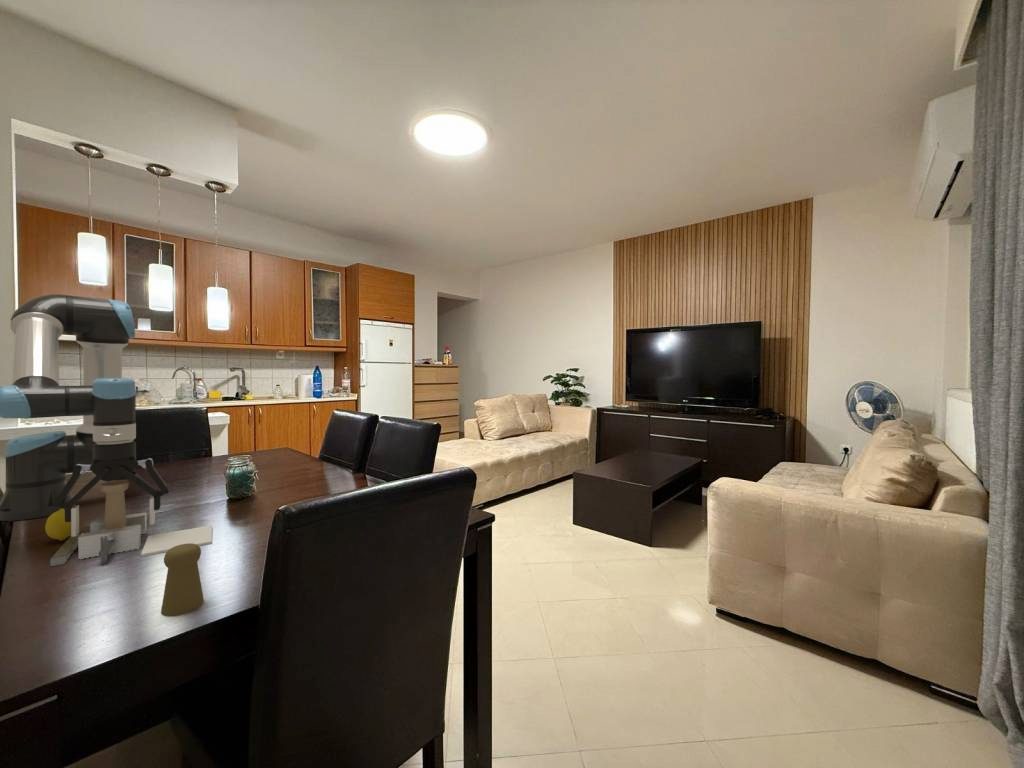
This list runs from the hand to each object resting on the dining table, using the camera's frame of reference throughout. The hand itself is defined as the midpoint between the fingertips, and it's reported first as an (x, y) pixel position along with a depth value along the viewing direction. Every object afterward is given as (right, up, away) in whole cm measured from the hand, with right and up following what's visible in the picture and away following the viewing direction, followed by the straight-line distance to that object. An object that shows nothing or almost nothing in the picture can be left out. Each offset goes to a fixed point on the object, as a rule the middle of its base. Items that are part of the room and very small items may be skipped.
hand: (115, 528), depth 100 cm
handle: (0, -4, 0) cm, 4 cm away
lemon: (-15, -4, +2) cm, 15 cm away
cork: (+37, -5, -26) cm, 46 cm away
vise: (0, -5, -3) cm, 6 cm away
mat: (+14, -4, +3) cm, 14 cm away
